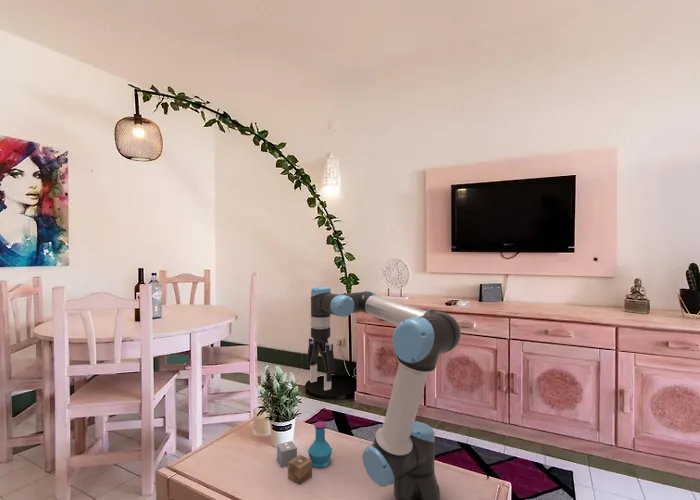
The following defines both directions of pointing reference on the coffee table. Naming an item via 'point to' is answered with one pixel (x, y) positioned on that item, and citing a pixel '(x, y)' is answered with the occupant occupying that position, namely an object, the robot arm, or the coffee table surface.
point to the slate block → (286, 453)
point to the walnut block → (300, 469)
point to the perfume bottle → (320, 447)
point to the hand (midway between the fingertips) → (320, 385)
